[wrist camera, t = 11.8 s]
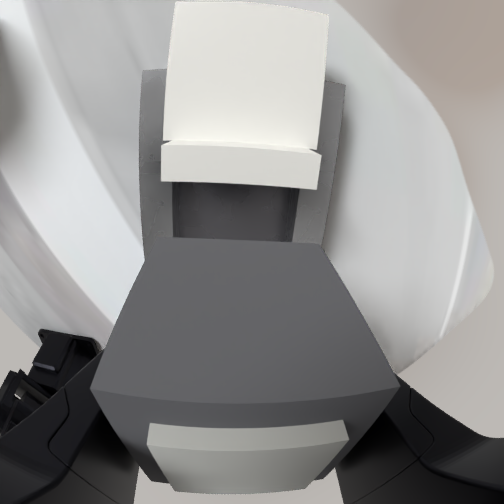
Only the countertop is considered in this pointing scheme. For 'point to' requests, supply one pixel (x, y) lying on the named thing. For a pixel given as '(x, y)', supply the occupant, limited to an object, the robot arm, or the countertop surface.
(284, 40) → the panel
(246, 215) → the socket plate
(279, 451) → the plug
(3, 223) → the countertop surface
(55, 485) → the robot arm
